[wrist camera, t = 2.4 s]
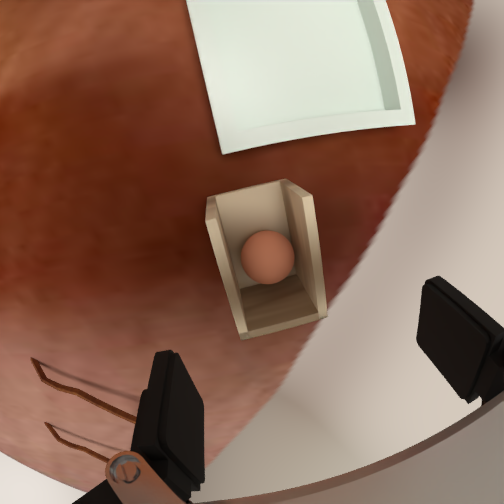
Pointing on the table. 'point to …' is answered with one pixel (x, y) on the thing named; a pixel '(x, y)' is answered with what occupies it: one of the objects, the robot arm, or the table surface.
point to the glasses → (85, 397)
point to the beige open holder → (289, 225)
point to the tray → (299, 68)
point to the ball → (267, 257)
